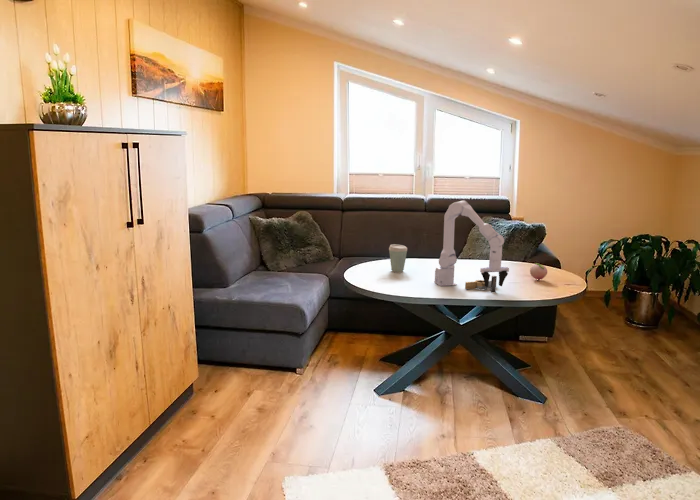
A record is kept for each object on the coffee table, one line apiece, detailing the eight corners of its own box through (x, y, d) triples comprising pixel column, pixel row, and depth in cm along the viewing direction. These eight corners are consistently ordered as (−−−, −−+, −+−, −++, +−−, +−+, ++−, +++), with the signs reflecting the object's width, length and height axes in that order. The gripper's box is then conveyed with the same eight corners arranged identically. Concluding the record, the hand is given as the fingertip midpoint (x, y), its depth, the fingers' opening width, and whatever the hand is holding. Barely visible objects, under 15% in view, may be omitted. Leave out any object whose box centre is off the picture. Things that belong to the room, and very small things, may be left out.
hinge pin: (492, 292, 275) (493, 277, 274) (489, 291, 277) (490, 275, 276) (496, 292, 276) (497, 276, 274) (494, 291, 278) (495, 275, 276)
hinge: (467, 290, 278) (468, 283, 278) (463, 287, 284) (463, 280, 283) (498, 288, 282) (498, 282, 282) (493, 285, 288) (493, 279, 287)
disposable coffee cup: (406, 269, 320) (407, 244, 316) (406, 274, 309) (407, 247, 306) (388, 268, 321) (389, 243, 317) (387, 273, 310) (388, 247, 307)
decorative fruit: (525, 278, 304) (527, 260, 302) (538, 277, 306) (539, 260, 304) (536, 283, 295) (537, 264, 293) (549, 282, 297) (550, 264, 295)
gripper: (485, 261, 268) (483, 288, 270) (512, 260, 271) (510, 287, 274) (479, 258, 274) (477, 285, 277) (505, 257, 278) (503, 283, 281)
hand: (493, 286), depth 276 cm, fingers open, 7 cm apart
